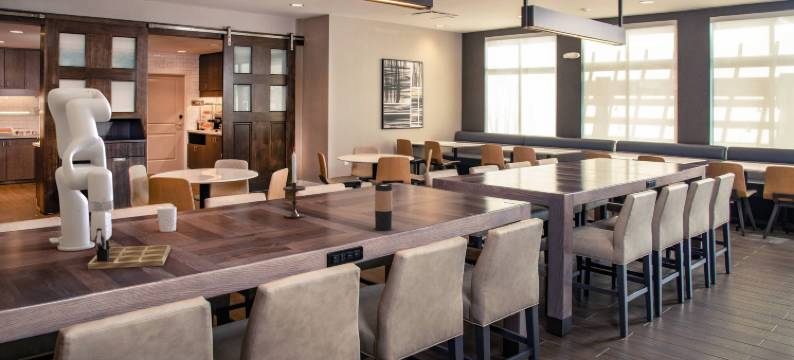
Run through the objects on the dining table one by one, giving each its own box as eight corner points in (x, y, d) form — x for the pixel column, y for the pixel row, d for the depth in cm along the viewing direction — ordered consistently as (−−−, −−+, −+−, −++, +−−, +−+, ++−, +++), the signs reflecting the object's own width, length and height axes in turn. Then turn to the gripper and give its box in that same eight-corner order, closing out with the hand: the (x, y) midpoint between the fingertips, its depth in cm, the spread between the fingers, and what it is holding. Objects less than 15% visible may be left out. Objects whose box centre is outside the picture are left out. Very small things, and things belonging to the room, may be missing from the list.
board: (87, 269, 208) (87, 264, 207) (102, 252, 230) (102, 247, 230) (163, 265, 213) (162, 260, 213) (170, 249, 236) (170, 244, 236)
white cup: (156, 232, 265) (155, 209, 264) (159, 229, 273) (158, 206, 272) (175, 232, 267) (175, 209, 265) (178, 228, 274) (177, 205, 273)
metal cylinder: (96, 261, 210) (95, 251, 210) (98, 258, 214) (98, 248, 213) (109, 260, 211) (108, 250, 211) (111, 258, 215) (110, 248, 214)
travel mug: (378, 231, 273) (378, 186, 270) (372, 228, 280) (372, 183, 277) (394, 230, 275) (395, 185, 273) (388, 227, 282) (388, 183, 280)
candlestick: (310, 216, 306) (309, 144, 302) (295, 219, 297) (294, 146, 293) (293, 214, 312) (292, 143, 307) (278, 217, 303) (277, 145, 298)
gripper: (94, 202, 217) (97, 254, 220) (83, 210, 201) (86, 266, 203) (117, 202, 219) (120, 253, 221) (108, 210, 203) (110, 265, 205)
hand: (103, 258), depth 212 cm, fingers closed on metal cylinder, 4 cm apart
